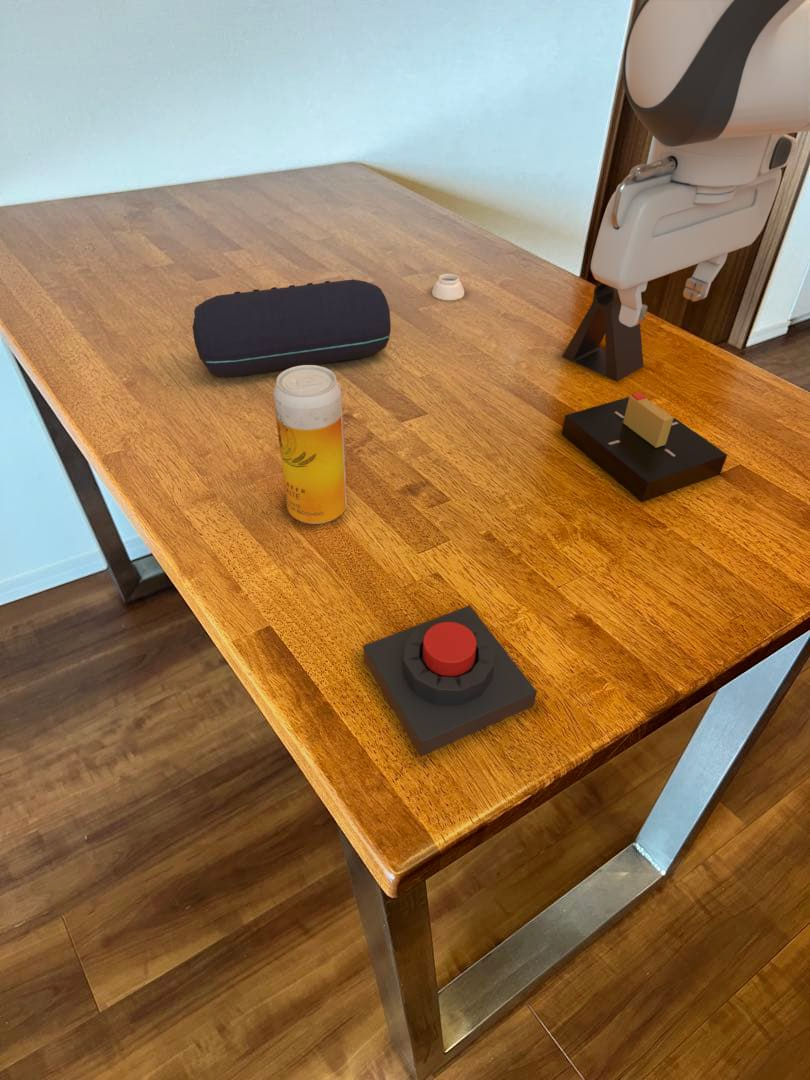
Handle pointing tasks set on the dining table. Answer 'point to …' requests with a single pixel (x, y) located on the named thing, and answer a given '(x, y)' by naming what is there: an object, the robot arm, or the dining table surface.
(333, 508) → the beer can
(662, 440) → the thumb turn
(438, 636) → the button
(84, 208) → the dining table surface
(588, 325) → the phone stand
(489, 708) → the button base
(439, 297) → the lidless jar
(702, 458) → the plate
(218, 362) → the portable speaker
